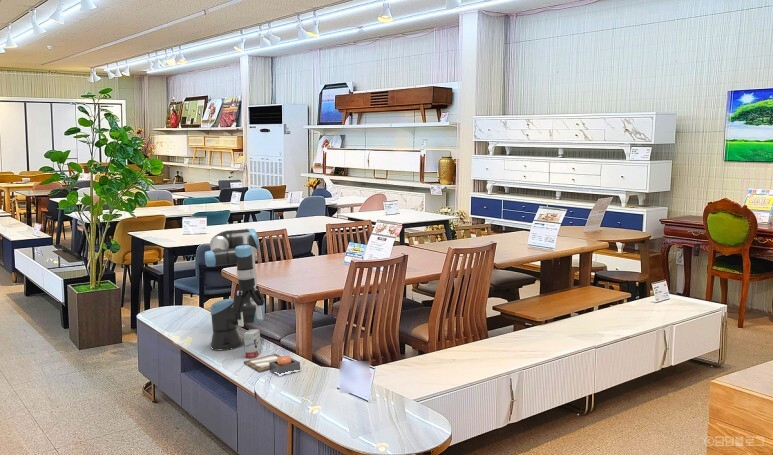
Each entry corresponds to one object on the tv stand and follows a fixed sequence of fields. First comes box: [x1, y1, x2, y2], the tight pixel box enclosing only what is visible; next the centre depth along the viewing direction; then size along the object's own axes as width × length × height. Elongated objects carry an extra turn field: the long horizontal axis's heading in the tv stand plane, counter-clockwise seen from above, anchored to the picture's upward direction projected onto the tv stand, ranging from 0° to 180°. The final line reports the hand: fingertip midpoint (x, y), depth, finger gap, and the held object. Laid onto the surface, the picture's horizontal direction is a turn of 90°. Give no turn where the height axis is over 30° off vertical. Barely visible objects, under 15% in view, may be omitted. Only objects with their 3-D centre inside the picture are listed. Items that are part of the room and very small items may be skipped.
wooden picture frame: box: [243, 353, 282, 373], centre depth 310 cm, size 18×16×1 cm
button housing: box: [269, 357, 301, 374], centre depth 297 cm, size 10×10×4 cm
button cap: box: [277, 355, 292, 366], centre depth 297 cm, size 6×6×4 cm
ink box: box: [243, 328, 262, 359], centre depth 324 cm, size 9×5×12 cm, turn 168°
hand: (250, 322), depth 323 cm, fingers open, 13 cm apart
